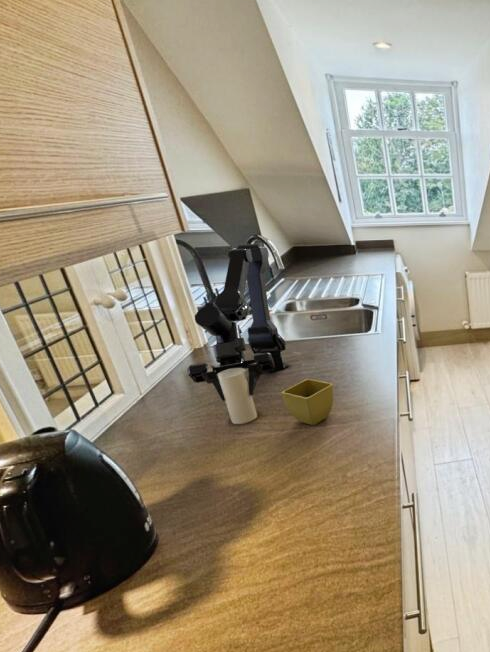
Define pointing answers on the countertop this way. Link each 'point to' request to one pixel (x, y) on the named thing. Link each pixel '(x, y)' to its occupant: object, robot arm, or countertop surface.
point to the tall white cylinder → (237, 395)
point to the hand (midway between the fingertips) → (237, 397)
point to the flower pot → (309, 400)
